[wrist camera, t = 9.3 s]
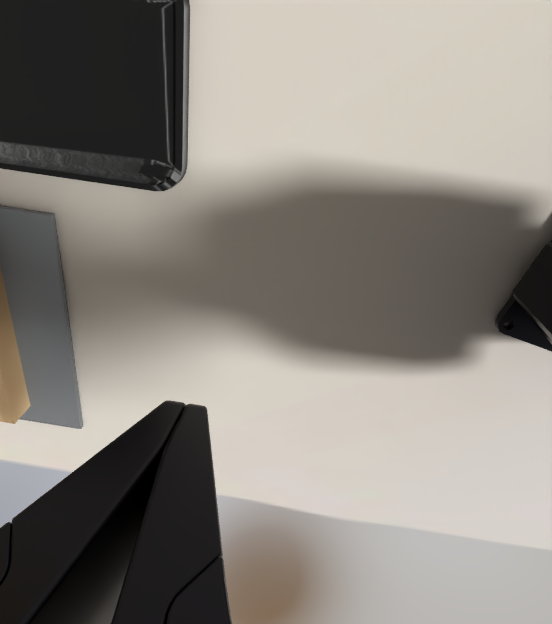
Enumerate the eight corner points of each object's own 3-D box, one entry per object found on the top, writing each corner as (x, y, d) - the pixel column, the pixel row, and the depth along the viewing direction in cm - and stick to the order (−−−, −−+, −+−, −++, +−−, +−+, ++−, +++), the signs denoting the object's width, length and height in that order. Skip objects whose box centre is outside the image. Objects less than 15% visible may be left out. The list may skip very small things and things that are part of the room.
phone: (181, 195, 18) (-158, 145, 18) (189, 189, 19) (-133, 142, 19) (184, -41, 14) (-247, -99, 14) (193, -33, 15) (-210, -87, 15)
